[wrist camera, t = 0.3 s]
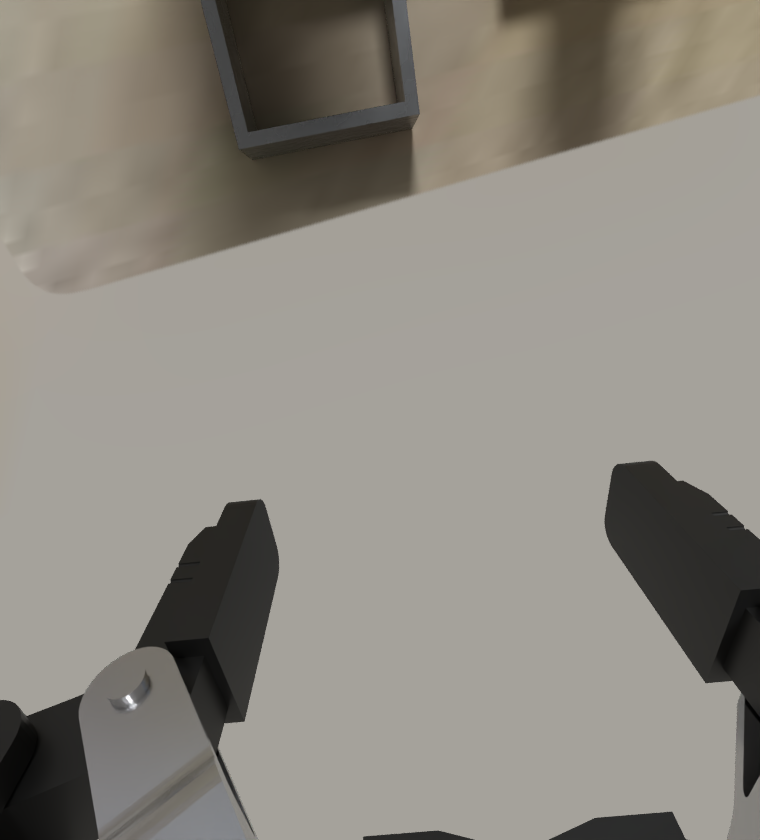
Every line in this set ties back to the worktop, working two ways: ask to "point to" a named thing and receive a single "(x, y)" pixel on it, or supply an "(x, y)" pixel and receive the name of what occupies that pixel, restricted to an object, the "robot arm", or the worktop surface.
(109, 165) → the worktop surface
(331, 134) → the gray square tray
